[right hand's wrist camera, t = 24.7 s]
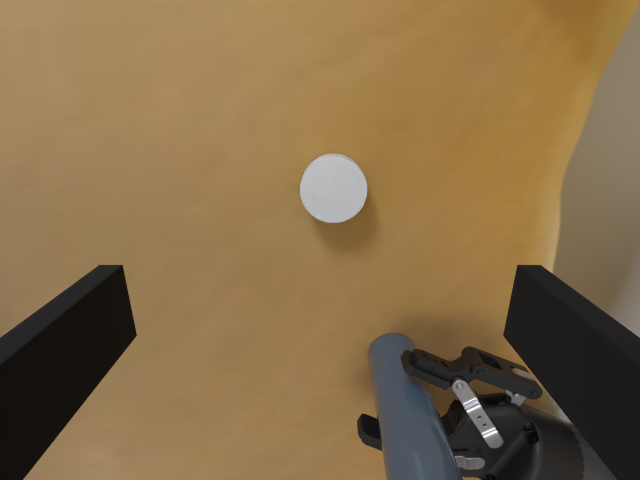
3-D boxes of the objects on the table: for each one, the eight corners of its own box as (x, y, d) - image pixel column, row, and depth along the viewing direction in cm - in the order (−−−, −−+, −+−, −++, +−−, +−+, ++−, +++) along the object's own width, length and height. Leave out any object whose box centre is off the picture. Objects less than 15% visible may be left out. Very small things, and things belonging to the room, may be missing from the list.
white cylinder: (360, 148, 30) (363, 151, 28) (368, 210, 32) (371, 218, 30) (296, 158, 30) (294, 162, 28) (307, 219, 32) (306, 227, 30)
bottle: (359, 363, 37) (383, 567, 21) (382, 326, 36) (427, 515, 19) (401, 380, 38) (456, 592, 21) (425, 344, 36) (505, 543, 20)
